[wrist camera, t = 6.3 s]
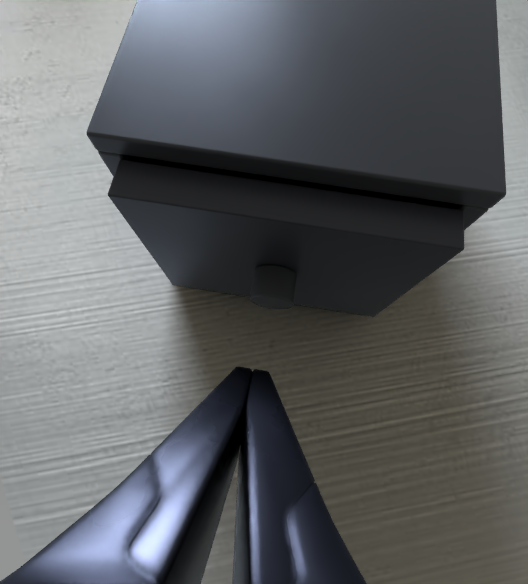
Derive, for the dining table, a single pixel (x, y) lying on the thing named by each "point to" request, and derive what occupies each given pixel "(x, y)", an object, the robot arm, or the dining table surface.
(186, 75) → the dark grey box
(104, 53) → the dining table surface
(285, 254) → the fryer drawer
